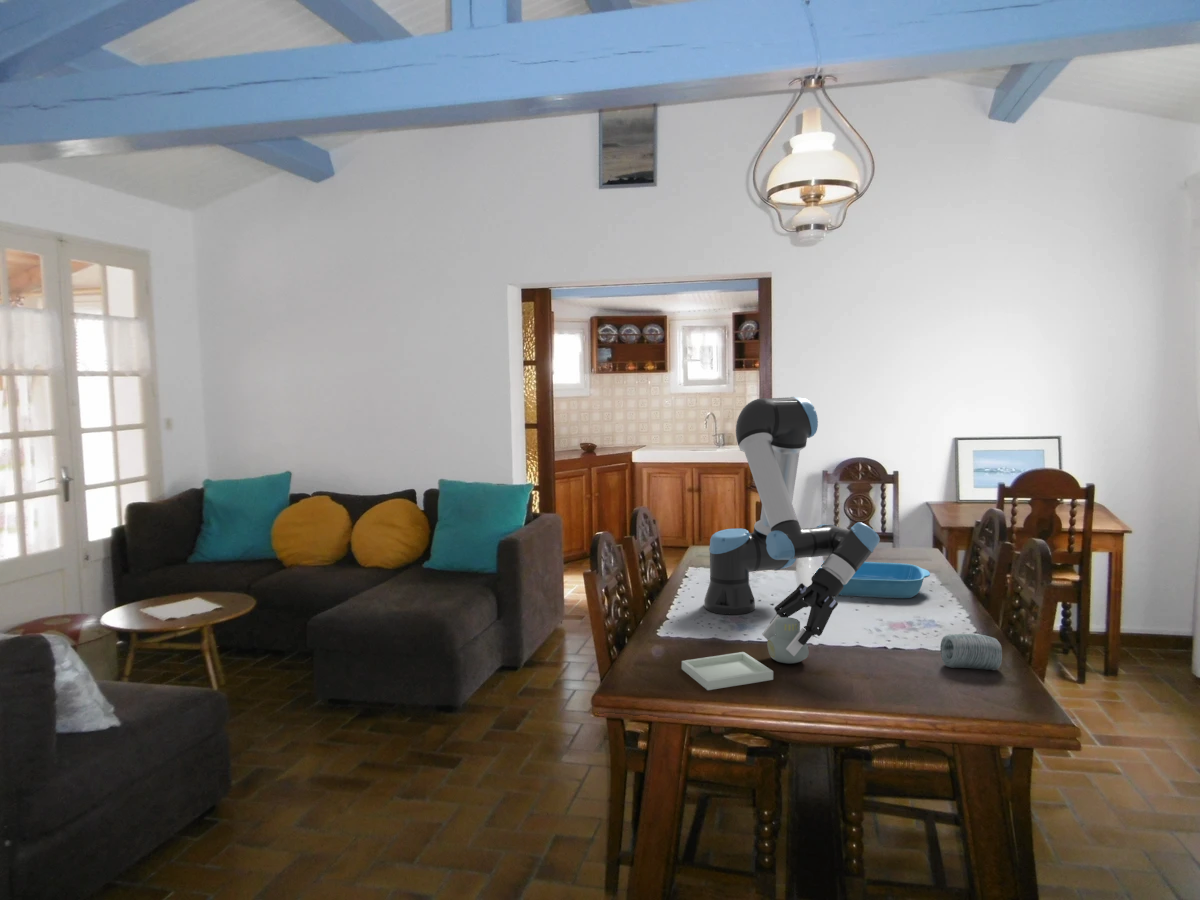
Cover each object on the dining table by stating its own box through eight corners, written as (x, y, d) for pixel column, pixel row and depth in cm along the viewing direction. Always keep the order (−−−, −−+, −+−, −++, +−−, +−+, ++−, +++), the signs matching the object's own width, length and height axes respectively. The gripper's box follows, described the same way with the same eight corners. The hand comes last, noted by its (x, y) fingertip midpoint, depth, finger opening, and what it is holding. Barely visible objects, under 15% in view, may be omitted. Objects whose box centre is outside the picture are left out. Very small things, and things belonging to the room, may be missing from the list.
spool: (938, 660, 194) (949, 619, 197) (933, 664, 203) (943, 626, 205) (1000, 680, 190) (1010, 639, 192) (992, 684, 198) (1001, 644, 201)
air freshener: (765, 652, 210) (765, 614, 208) (797, 651, 210) (797, 613, 209) (777, 668, 199) (777, 628, 198) (811, 667, 199) (811, 627, 198)
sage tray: (681, 670, 200) (681, 660, 200) (743, 661, 206) (743, 651, 206) (707, 692, 187) (707, 681, 187) (773, 681, 193) (773, 671, 192)
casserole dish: (808, 596, 260) (808, 574, 259) (810, 578, 281) (810, 558, 280) (933, 604, 250) (934, 581, 249) (925, 584, 271) (926, 563, 270)
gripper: (870, 598, 197) (813, 670, 193) (814, 574, 218) (762, 639, 215) (852, 578, 194) (794, 651, 191) (797, 556, 216) (744, 622, 213)
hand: (777, 645), depth 203 cm, fingers closed on air freshener, 11 cm apart
